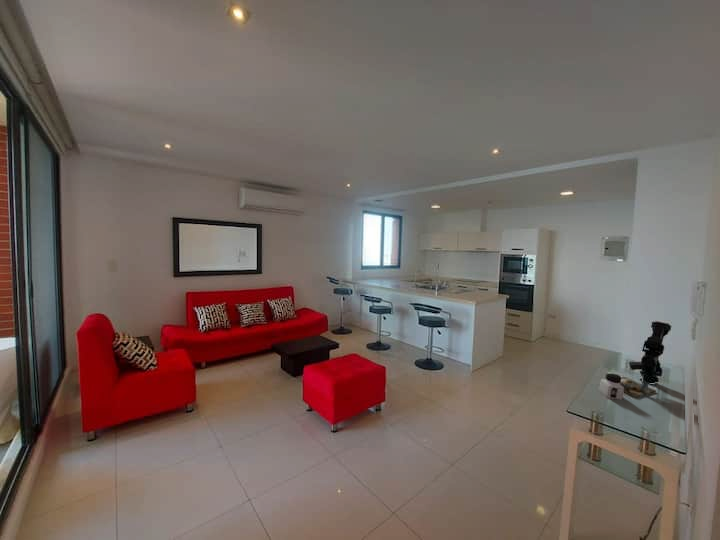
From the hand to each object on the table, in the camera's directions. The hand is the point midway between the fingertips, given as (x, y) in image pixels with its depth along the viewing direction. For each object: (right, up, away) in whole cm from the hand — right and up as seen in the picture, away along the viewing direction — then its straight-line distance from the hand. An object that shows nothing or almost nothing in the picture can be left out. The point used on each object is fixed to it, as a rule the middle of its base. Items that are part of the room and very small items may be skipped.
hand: (644, 385), depth 173 cm
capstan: (-5, -2, +4) cm, 6 cm away
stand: (-4, -4, +5) cm, 8 cm away
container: (-24, -5, -3) cm, 24 cm away
